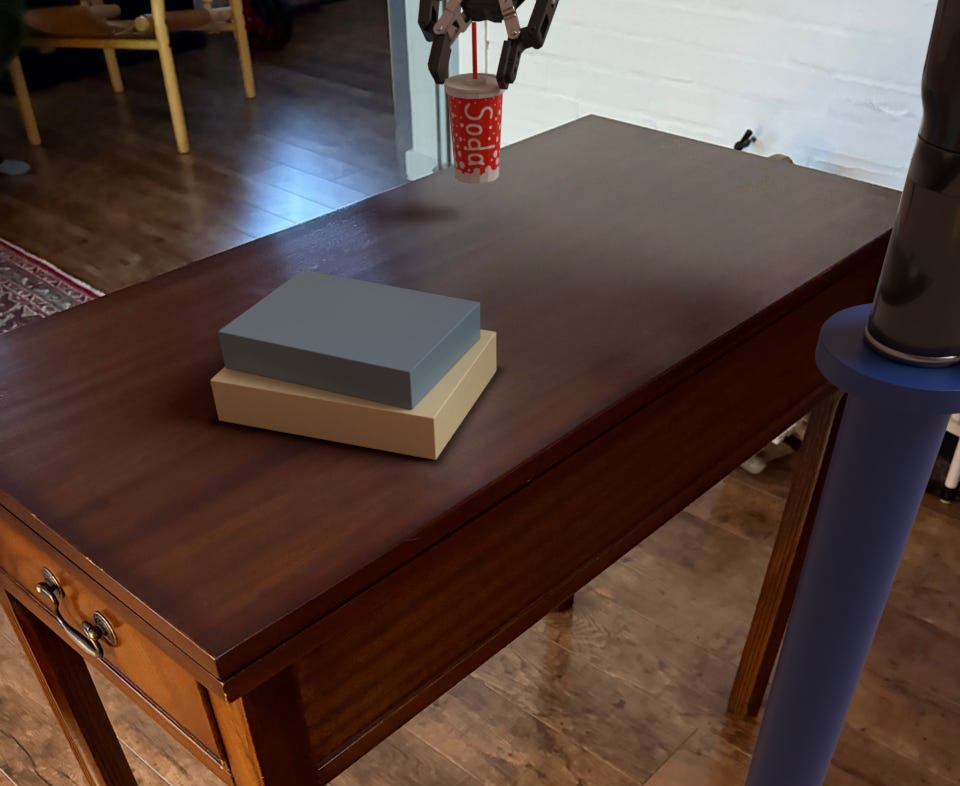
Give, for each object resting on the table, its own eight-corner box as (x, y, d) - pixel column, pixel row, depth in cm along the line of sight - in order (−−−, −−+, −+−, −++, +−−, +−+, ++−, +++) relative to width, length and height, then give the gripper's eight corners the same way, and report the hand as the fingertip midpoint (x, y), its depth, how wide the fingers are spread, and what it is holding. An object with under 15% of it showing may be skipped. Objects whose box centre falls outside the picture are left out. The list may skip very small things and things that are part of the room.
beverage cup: (440, 183, 104) (433, 28, 94) (457, 164, 108) (452, 14, 99) (497, 188, 103) (496, 31, 93) (512, 168, 107) (513, 16, 97)
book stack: (496, 371, 83) (496, 295, 78) (436, 460, 73) (432, 379, 69) (300, 340, 87) (289, 266, 83) (218, 420, 78) (201, 342, 73)
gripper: (426, -118, 96) (388, 54, 96) (572, -115, 92) (532, 63, 92) (448, -60, 103) (412, 99, 103) (584, -55, 100) (547, 110, 100)
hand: (469, 81), depth 98 cm, fingers closed on beverage cup, 6 cm apart
